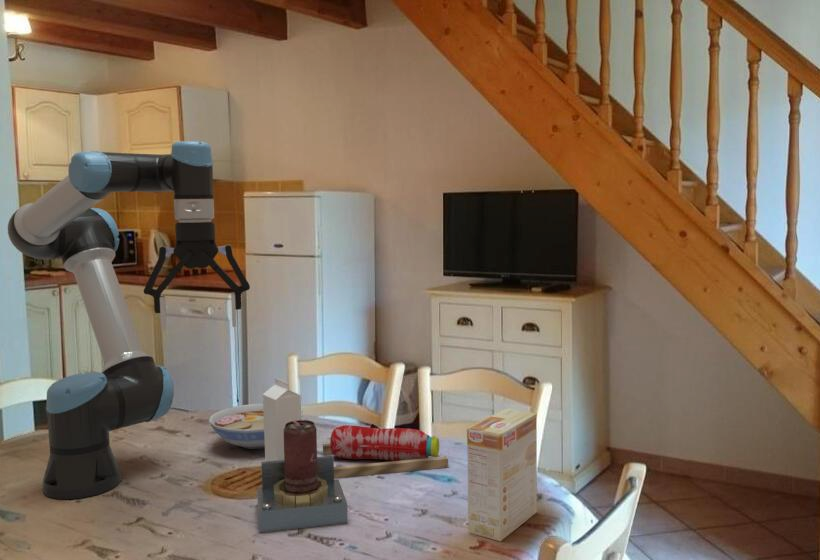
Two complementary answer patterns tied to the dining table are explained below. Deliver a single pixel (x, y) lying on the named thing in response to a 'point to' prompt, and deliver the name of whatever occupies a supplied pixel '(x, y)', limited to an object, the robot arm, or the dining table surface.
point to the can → (300, 457)
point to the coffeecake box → (502, 473)
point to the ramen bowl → (241, 425)
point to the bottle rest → (386, 466)
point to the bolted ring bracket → (299, 499)
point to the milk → (278, 417)
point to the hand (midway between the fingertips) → (199, 327)
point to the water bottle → (382, 443)
